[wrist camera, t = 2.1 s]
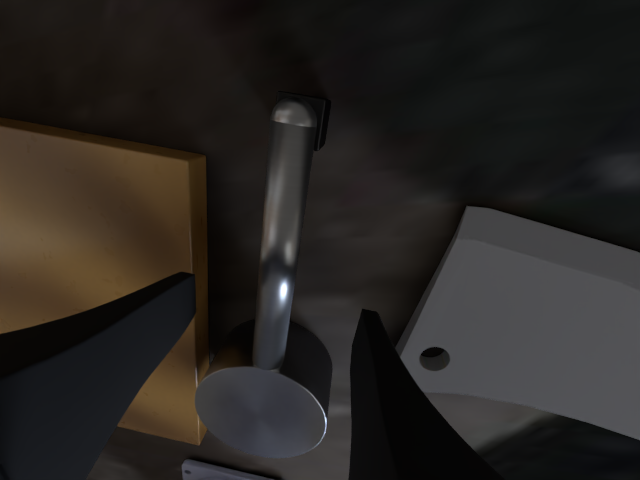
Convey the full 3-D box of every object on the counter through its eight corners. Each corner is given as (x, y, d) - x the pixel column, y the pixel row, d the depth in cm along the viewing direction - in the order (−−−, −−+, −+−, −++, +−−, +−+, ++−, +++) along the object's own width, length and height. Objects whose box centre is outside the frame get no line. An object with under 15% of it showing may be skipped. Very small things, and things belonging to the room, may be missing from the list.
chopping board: (210, 423, 20) (199, 446, 18) (-58, 360, 21) (-88, 378, 19) (206, 154, 12) (187, 160, 11) (-221, 75, 13) (-288, 71, 12)
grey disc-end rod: (322, 411, 18) (315, 469, 15) (222, 388, 18) (195, 441, 15) (396, 111, 10) (410, 112, 8) (226, 82, 11) (177, 72, 8)
